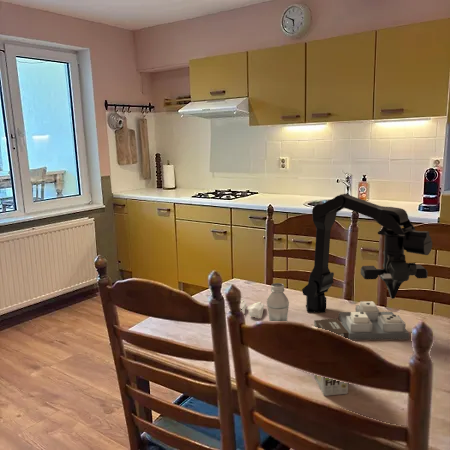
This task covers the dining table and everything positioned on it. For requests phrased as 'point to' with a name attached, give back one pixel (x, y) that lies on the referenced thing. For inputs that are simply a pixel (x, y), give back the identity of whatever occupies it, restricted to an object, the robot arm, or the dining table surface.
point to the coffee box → (328, 384)
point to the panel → (373, 326)
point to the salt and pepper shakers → (253, 309)
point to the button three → (391, 319)
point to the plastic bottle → (277, 303)
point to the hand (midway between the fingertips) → (392, 298)
